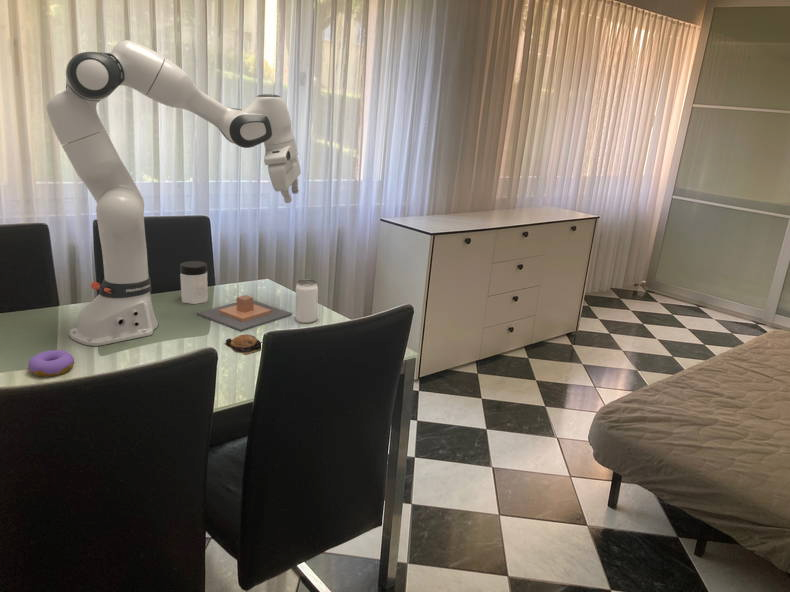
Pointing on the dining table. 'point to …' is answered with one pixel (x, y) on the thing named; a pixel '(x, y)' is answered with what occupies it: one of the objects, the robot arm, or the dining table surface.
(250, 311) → the lid
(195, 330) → the dining table surface
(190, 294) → the jar
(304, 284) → the can
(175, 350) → the dining table surface
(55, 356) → the donut
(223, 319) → the mat
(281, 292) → the dining table surface
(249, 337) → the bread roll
